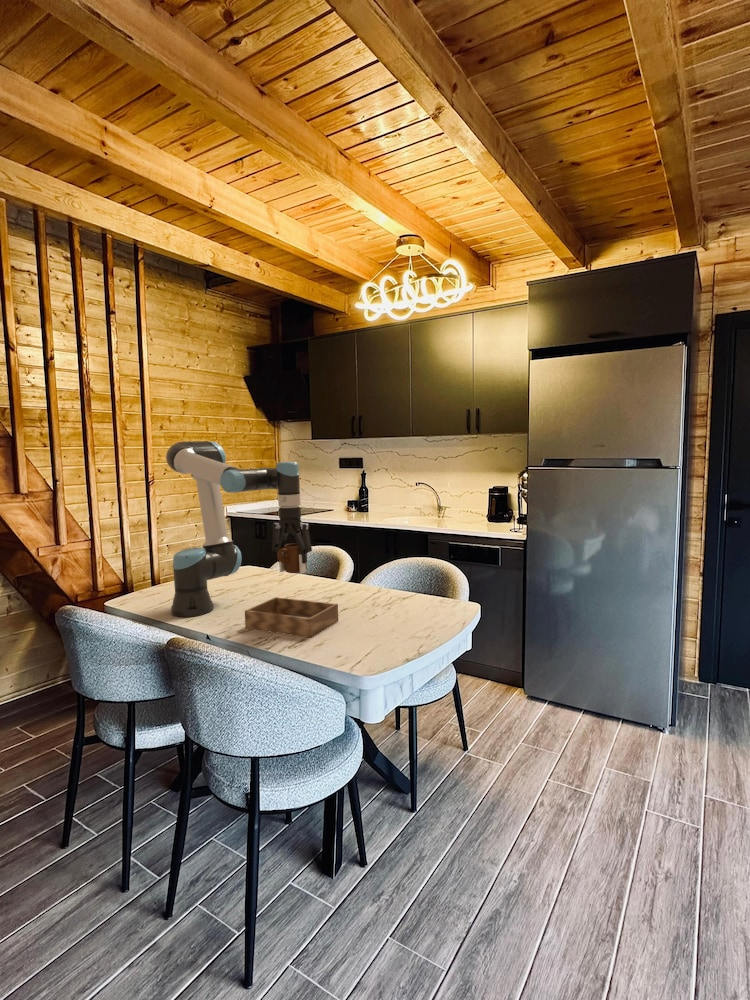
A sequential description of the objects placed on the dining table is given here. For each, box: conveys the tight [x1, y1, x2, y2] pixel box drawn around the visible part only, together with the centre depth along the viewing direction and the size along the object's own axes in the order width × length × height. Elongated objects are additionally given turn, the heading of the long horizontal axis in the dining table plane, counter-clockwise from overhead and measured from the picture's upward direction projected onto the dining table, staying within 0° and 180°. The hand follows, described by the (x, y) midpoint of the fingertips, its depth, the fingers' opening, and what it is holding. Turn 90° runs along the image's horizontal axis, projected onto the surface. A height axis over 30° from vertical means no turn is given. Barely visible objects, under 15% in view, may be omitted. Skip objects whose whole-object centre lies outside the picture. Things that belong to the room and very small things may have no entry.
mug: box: [276, 542, 308, 574], centre depth 188 cm, size 12×8×9 cm, turn 143°
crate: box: [244, 596, 339, 638], centre depth 185 cm, size 26×18×6 cm
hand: (292, 571), depth 188 cm, fingers closed on mug, 7 cm apart
